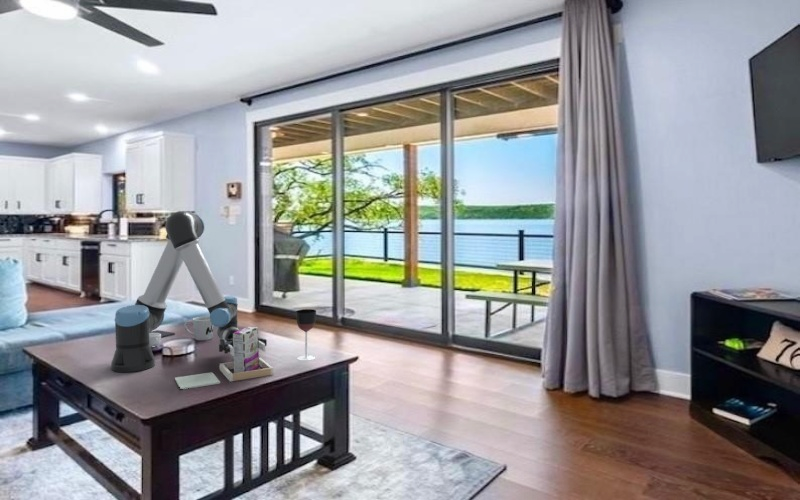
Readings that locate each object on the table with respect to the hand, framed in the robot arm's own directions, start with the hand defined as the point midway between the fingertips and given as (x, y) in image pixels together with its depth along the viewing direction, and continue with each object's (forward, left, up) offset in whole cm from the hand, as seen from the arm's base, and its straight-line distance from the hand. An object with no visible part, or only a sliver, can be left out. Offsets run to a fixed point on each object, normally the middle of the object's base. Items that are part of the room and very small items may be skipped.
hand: (249, 350), depth 187 cm
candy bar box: (0, +4, -10) cm, 11 cm away
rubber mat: (-18, +2, -10) cm, 20 cm away
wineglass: (+27, +11, -10) cm, 31 cm away
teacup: (-26, +63, -10) cm, 69 cm away
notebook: (-26, +83, -10) cm, 88 cm away
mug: (-5, +69, -10) cm, 70 cm away
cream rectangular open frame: (0, +4, -10) cm, 10 cm away
